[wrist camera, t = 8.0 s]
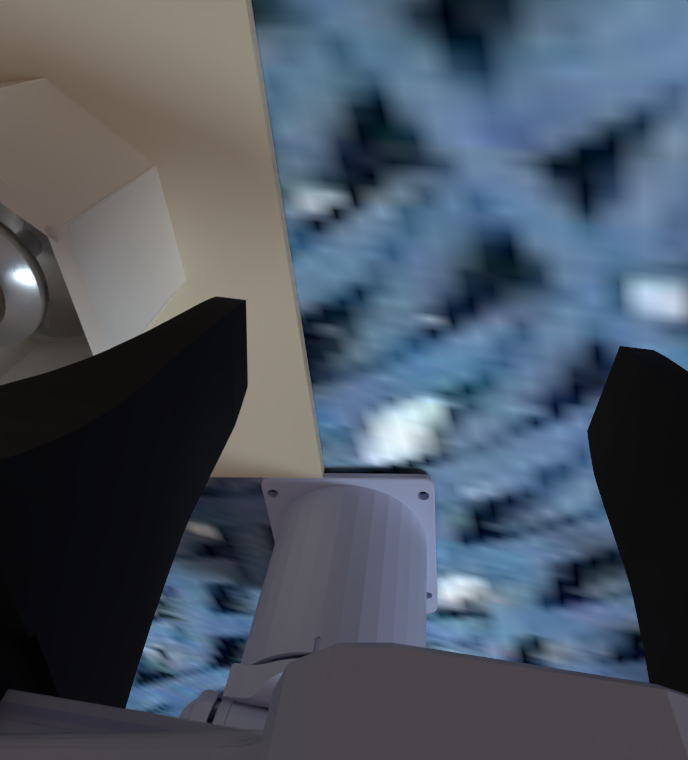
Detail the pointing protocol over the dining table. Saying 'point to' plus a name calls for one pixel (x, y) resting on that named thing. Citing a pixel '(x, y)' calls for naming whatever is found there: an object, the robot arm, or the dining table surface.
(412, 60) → the dining table surface
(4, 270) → the lid
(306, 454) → the press stand
